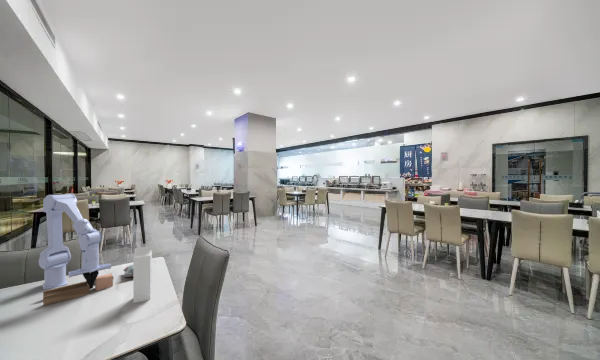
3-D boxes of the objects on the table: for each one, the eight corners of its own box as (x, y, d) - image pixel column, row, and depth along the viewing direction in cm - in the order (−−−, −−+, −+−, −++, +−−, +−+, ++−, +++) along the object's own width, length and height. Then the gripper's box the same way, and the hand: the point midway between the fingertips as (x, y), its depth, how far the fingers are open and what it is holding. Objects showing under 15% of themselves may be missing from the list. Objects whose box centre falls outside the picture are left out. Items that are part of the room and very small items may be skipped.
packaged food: (122, 280, 118) (122, 270, 118) (123, 273, 128) (123, 264, 128) (143, 276, 123) (143, 267, 123) (143, 270, 133) (143, 261, 133)
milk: (135, 297, 103) (135, 246, 103) (152, 294, 106) (151, 244, 106) (133, 303, 98) (133, 250, 98) (150, 300, 100) (150, 248, 100)
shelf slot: (43, 299, 101) (43, 291, 101) (87, 288, 111) (87, 280, 111) (43, 306, 96) (43, 297, 96) (89, 293, 106) (89, 285, 106)
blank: (95, 287, 112) (95, 277, 112) (111, 283, 116) (111, 273, 116) (96, 290, 109) (96, 279, 109) (112, 286, 113) (112, 275, 113)
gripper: (69, 265, 101) (69, 296, 101) (112, 256, 112) (112, 285, 112) (68, 260, 106) (68, 291, 106) (109, 253, 116) (109, 281, 117)
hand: (90, 288), depth 109 cm, fingers closed
